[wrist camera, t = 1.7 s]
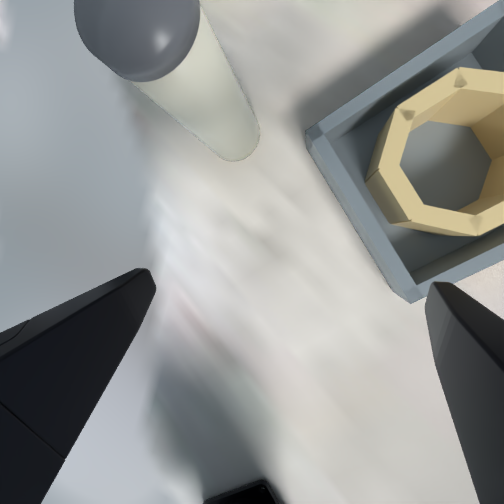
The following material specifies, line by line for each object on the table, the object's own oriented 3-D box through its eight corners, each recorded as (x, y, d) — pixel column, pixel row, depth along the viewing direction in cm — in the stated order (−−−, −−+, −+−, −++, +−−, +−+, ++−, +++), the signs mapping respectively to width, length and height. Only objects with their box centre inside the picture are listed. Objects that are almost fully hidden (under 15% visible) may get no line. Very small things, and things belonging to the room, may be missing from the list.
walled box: (393, 291, 19) (416, 308, 15) (306, 148, 20) (305, 124, 16) (579, 200, 17) (674, 187, 12) (473, 39, 17) (527, -27, 13)
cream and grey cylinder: (225, 173, 21) (111, 92, 9) (199, 128, 22) (54, -9, 9) (271, 142, 21) (211, 6, 8) (243, 95, 21) (145, -103, 9)
